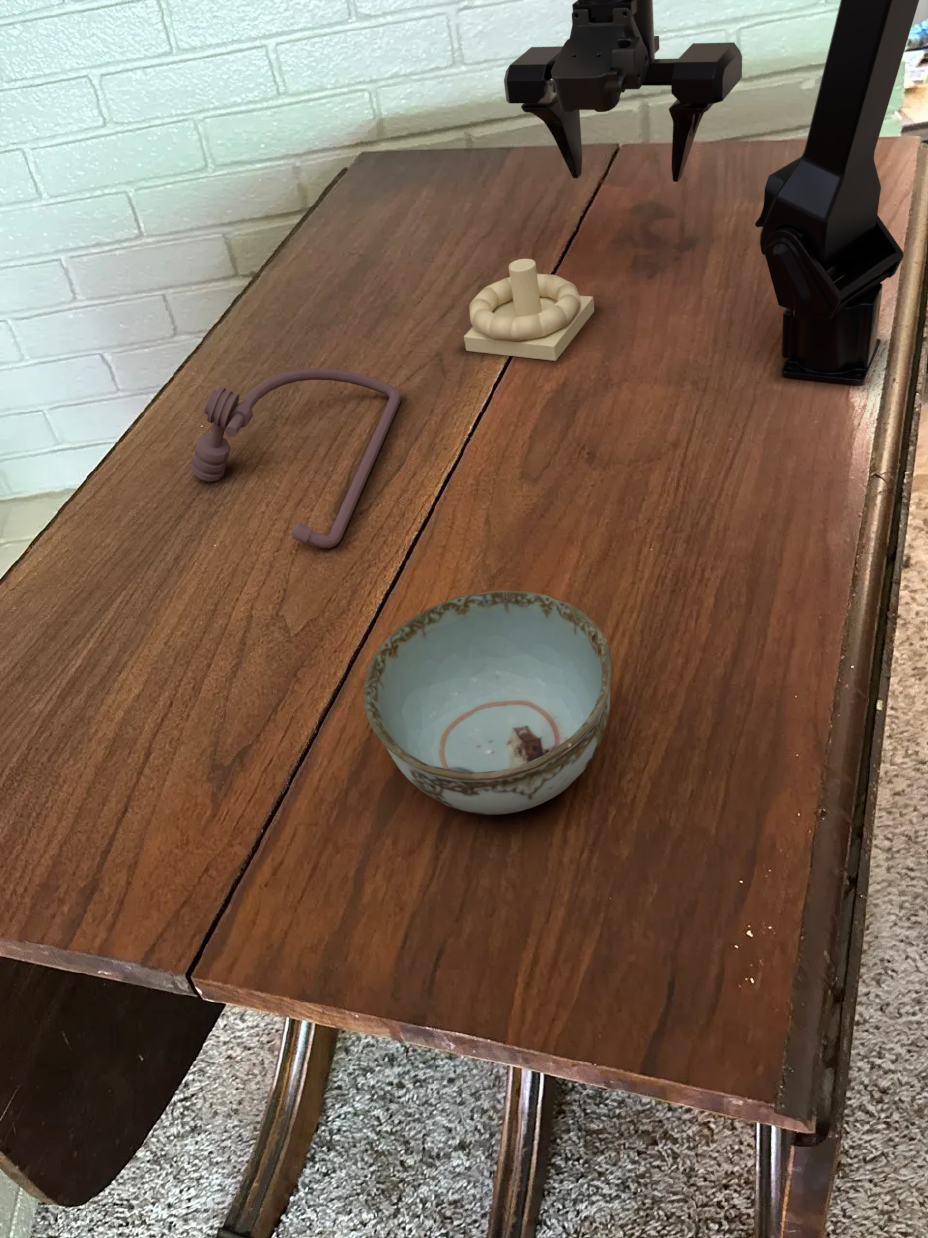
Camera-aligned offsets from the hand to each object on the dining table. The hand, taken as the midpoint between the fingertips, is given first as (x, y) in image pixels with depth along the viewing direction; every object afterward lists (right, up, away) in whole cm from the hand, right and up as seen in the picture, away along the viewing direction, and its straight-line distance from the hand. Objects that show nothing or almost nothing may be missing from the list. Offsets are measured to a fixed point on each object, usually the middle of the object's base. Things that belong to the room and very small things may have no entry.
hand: (626, 178), depth 94 cm
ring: (-9, -10, +4) cm, 14 cm away
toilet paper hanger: (-29, -26, -5) cm, 39 cm away
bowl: (-12, -47, -31) cm, 58 cm away
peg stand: (-8, -12, +6) cm, 15 cm away
